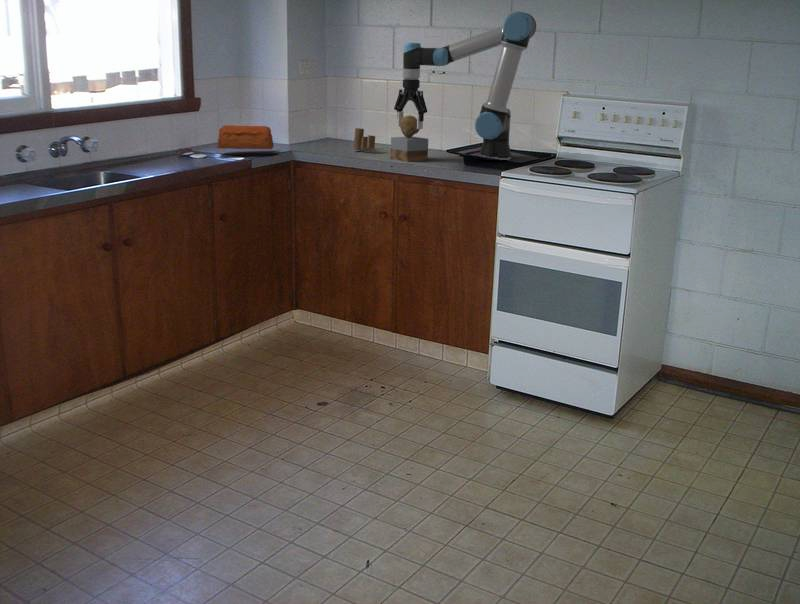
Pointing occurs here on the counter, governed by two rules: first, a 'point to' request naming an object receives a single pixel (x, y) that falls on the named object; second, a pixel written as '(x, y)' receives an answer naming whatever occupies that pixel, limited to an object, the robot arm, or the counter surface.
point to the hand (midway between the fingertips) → (409, 127)
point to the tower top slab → (409, 143)
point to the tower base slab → (409, 155)
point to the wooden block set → (363, 140)
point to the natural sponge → (409, 126)
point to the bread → (245, 137)
